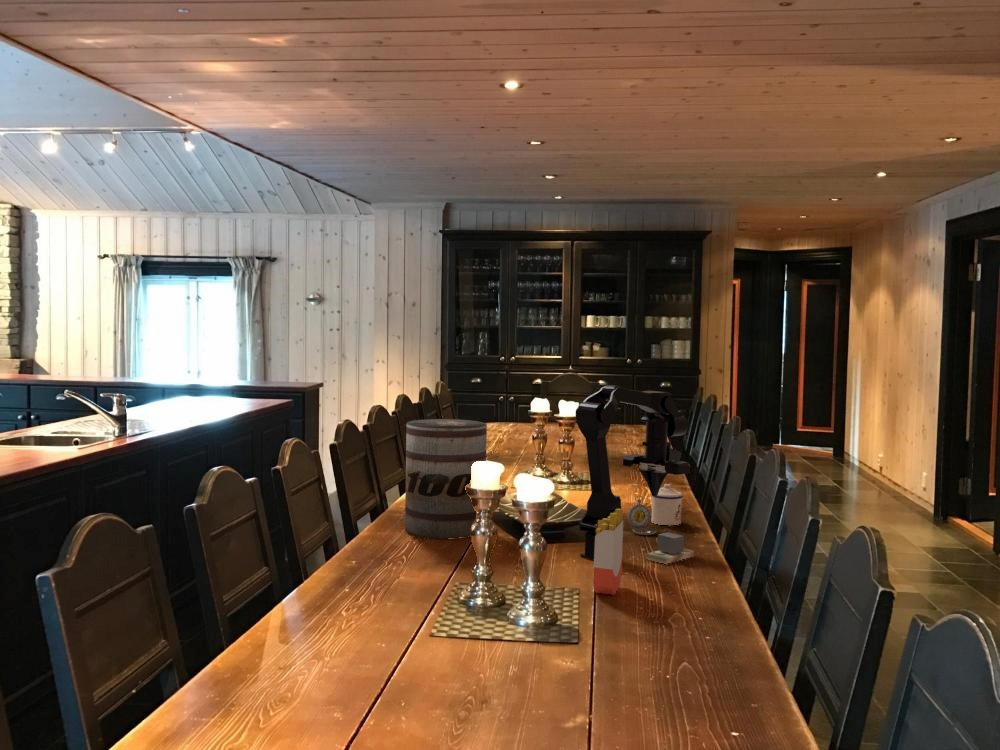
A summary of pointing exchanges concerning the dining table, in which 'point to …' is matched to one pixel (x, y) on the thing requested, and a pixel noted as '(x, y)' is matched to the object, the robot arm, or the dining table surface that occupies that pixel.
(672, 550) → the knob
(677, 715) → the dining table surface
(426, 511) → the barrel
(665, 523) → the teacup with lid
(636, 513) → the pocket watch
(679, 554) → the cream flat rectangular block
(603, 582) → the french fries container
